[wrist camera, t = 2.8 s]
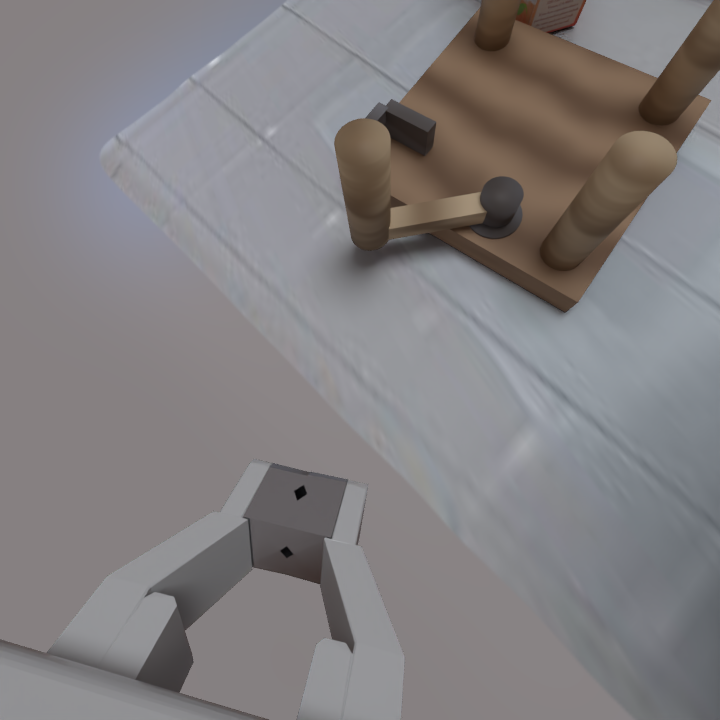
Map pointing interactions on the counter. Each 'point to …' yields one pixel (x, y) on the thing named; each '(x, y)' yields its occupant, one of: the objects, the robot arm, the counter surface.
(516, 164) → the stool
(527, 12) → the cracker box
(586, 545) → the counter surface
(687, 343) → the counter surface
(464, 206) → the leg
